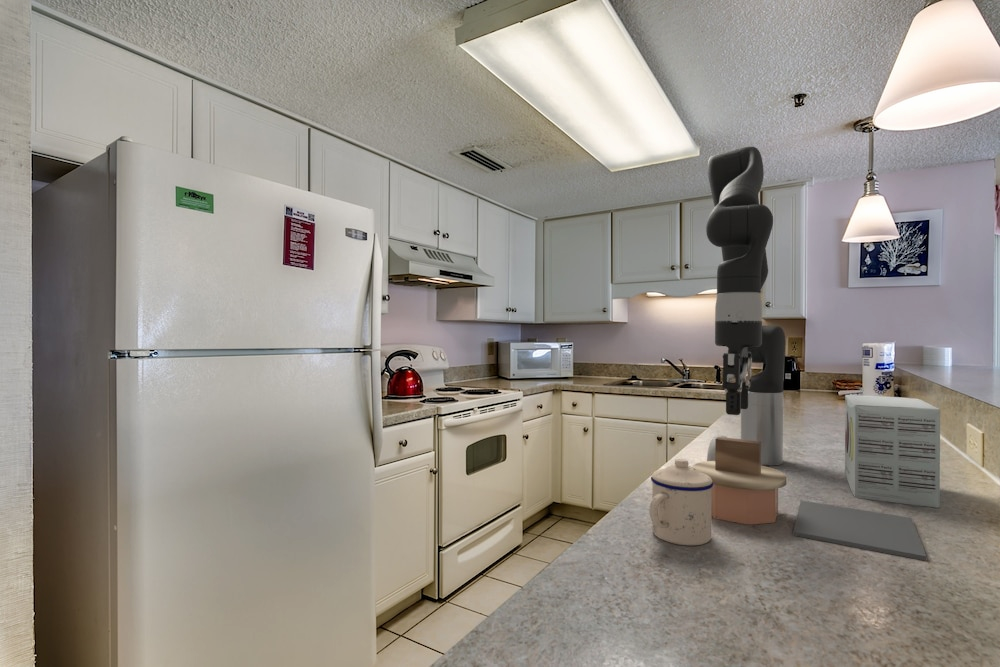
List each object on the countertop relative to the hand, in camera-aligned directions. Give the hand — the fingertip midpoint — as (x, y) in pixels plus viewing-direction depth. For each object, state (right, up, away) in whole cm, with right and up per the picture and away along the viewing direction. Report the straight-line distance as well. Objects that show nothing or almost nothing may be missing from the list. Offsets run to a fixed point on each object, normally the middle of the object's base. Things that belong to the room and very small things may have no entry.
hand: (737, 411), depth 91 cm
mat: (+15, -18, -8) cm, 25 cm away
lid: (0, -12, 0) cm, 12 cm away
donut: (+4, -18, +18) cm, 25 cm away
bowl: (0, -18, 0) cm, 18 cm away
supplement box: (+36, -18, +12) cm, 42 cm away
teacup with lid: (-15, -18, -12) cm, 26 cm away
